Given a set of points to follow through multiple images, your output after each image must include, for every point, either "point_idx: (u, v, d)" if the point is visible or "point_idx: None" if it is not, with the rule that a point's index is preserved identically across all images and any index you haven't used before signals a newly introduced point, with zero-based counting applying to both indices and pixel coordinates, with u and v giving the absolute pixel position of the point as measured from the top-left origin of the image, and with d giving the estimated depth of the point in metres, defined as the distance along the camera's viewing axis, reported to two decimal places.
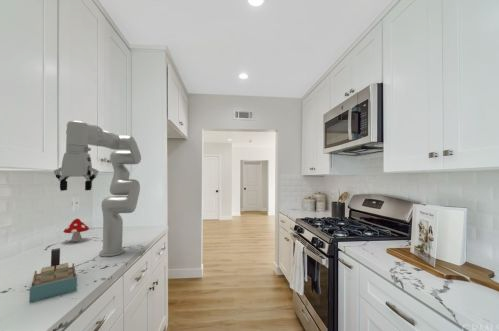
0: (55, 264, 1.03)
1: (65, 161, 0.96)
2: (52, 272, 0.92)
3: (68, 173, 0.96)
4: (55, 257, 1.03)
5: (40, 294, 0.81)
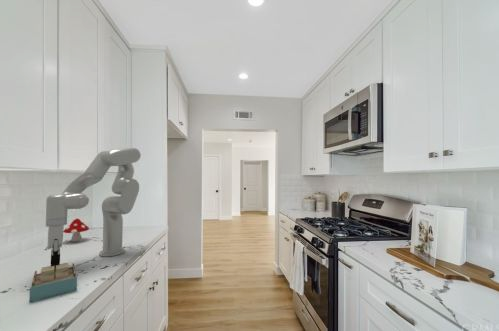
0: (55, 264, 1.03)
1: (62, 233, 1.04)
2: (52, 272, 0.92)
3: None
4: None
5: (40, 294, 0.81)
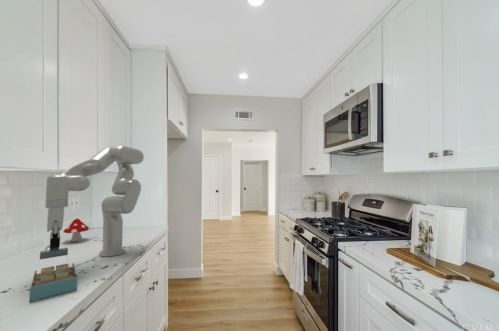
0: (54, 248, 0.98)
1: (63, 215, 0.99)
2: (52, 272, 0.92)
3: None
4: None
5: (40, 294, 0.81)
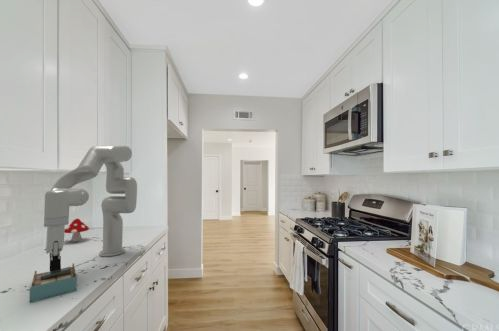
0: None
1: (63, 234, 0.90)
2: None
3: None
4: None
5: (40, 294, 0.81)
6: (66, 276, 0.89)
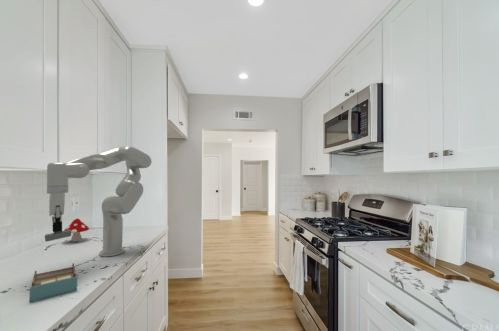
0: None
1: (64, 200, 1.04)
2: None
3: None
4: None
5: (40, 294, 0.81)
6: (66, 276, 0.89)
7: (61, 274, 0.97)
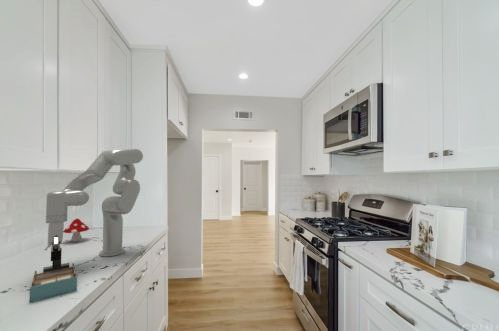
0: (56, 264, 1.04)
1: None
2: None
3: None
4: None
5: (40, 294, 0.81)
6: (66, 276, 0.89)
7: (61, 274, 0.97)
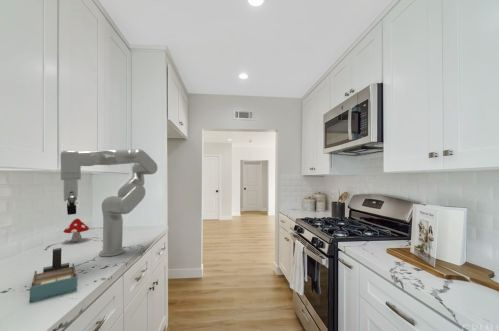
0: (56, 264, 1.04)
1: (77, 187, 1.09)
2: None
3: None
4: (56, 257, 1.04)
5: (40, 294, 0.81)
6: (66, 276, 0.89)
7: (61, 274, 0.97)
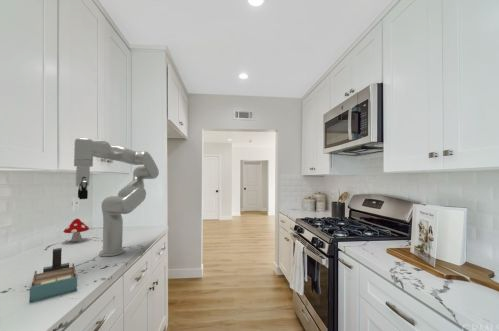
0: (56, 264, 1.04)
1: (89, 173, 1.13)
2: None
3: None
4: (56, 257, 1.04)
5: (40, 294, 0.81)
6: (66, 276, 0.89)
7: (61, 274, 0.97)
